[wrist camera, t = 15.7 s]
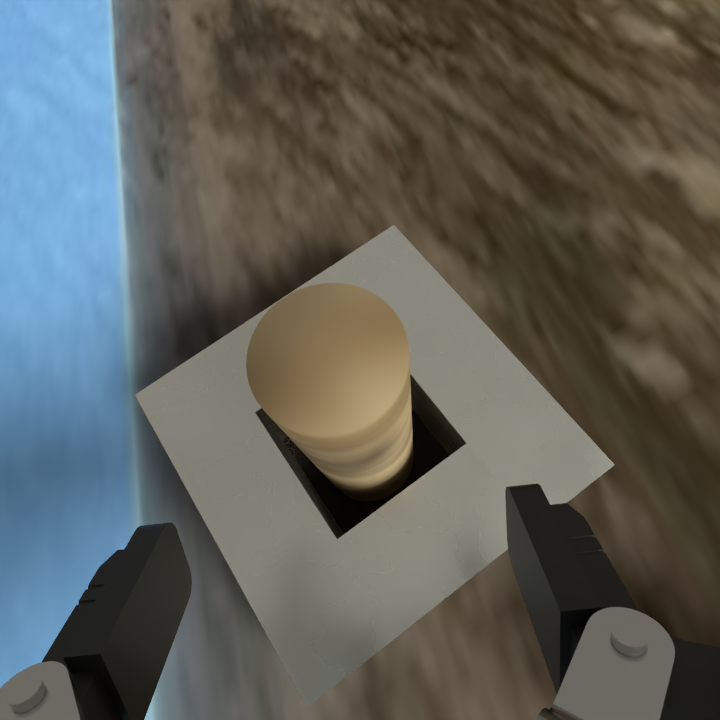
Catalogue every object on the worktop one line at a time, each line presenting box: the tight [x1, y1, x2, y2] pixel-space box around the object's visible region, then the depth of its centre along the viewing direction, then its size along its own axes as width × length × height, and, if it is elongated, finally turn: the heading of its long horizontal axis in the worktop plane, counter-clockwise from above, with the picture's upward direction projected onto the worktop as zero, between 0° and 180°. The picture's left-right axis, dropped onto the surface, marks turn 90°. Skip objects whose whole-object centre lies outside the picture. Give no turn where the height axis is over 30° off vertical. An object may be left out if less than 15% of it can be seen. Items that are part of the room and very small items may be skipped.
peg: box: [246, 283, 414, 502], centre depth 20 cm, size 4×4×13 cm
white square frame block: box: [135, 225, 614, 707], centre depth 24 cm, size 14×14×5 cm
